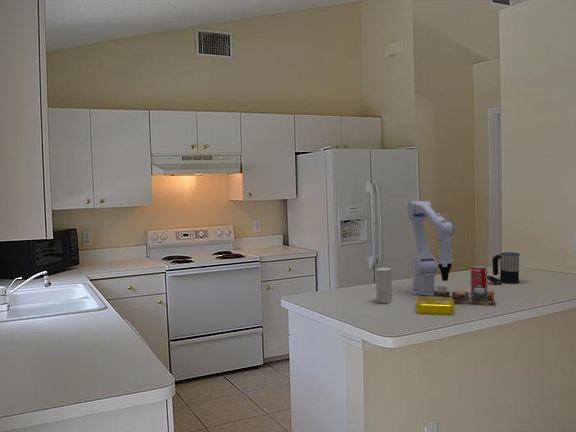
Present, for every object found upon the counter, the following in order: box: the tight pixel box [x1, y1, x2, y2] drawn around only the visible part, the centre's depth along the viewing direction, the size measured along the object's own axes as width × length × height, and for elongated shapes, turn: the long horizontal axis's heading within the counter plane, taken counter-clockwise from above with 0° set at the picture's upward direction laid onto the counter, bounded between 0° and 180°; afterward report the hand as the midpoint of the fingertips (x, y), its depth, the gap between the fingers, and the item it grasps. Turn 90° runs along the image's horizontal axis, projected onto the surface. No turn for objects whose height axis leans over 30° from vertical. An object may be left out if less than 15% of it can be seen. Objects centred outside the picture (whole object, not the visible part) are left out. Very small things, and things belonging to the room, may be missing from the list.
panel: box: [427, 290, 496, 307], centre depth 248 cm, size 28×10×5 cm, turn 74°
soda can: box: [470, 265, 488, 293], centre depth 261 cm, size 7×7×13 cm
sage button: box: [435, 285, 448, 294], centre depth 250 cm, size 4×4×3 cm
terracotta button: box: [454, 289, 467, 295], centre depth 248 cm, size 4×4×3 cm
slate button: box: [474, 288, 485, 296], centre depth 245 cm, size 4×4×3 cm
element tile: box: [415, 295, 455, 316], centre depth 235 cm, size 15×15×5 cm
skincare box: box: [375, 267, 393, 305], centre depth 251 cm, size 8×6×15 cm
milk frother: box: [487, 251, 521, 285], centre depth 285 cm, size 14×16×15 cm
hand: (444, 280), depth 248 cm, fingers closed
